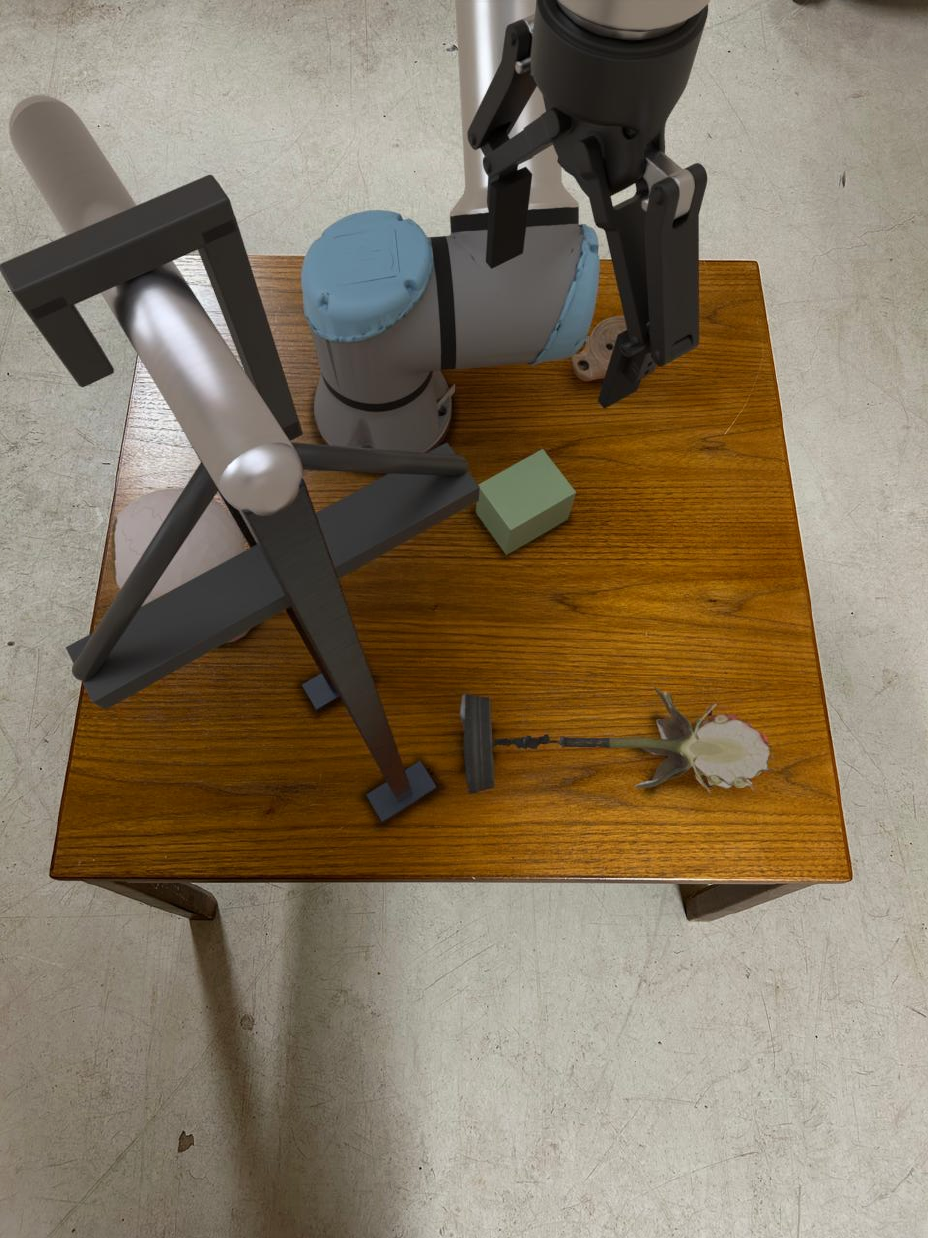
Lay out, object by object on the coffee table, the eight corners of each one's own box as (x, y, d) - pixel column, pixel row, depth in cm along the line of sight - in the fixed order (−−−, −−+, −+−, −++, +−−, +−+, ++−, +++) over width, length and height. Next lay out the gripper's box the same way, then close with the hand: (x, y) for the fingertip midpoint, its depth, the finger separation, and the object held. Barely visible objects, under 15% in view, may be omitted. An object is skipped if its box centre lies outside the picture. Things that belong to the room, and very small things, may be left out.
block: (475, 512, 84) (477, 484, 78) (536, 477, 85) (542, 448, 80) (506, 555, 82) (510, 530, 77) (567, 519, 84) (576, 492, 78)
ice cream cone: (158, 585, 80) (70, 489, 62) (260, 550, 82) (204, 446, 63) (186, 678, 77) (101, 608, 58) (291, 640, 79) (242, 560, 60)
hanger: (102, 712, 35) (-325, 482, 16) (75, 657, 36) (-362, 376, 16) (481, 499, 39) (514, 107, 20) (449, 455, 40) (451, 36, 20)
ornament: (742, 695, 77) (777, 671, 69) (756, 796, 74) (794, 784, 66) (460, 697, 77) (462, 673, 69) (461, 799, 74) (463, 786, 65)
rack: (303, 687, 77) (-98, 110, 20) (356, 656, 78) (114, 30, 22) (382, 823, 73) (153, 568, 16) (437, 788, 74) (400, 437, 17)
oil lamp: (586, 404, 89) (593, 377, 84) (553, 356, 91) (559, 327, 86) (682, 362, 91) (694, 332, 86) (648, 315, 93) (658, 284, 88)
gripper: (400, -145, 36) (417, 225, 56) (741, 211, 29) (622, 486, 49) (534, -193, 37) (504, 184, 57) (888, 135, 31) (714, 432, 51)
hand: (558, 324), depth 53 cm, fingers open, 13 cm apart
